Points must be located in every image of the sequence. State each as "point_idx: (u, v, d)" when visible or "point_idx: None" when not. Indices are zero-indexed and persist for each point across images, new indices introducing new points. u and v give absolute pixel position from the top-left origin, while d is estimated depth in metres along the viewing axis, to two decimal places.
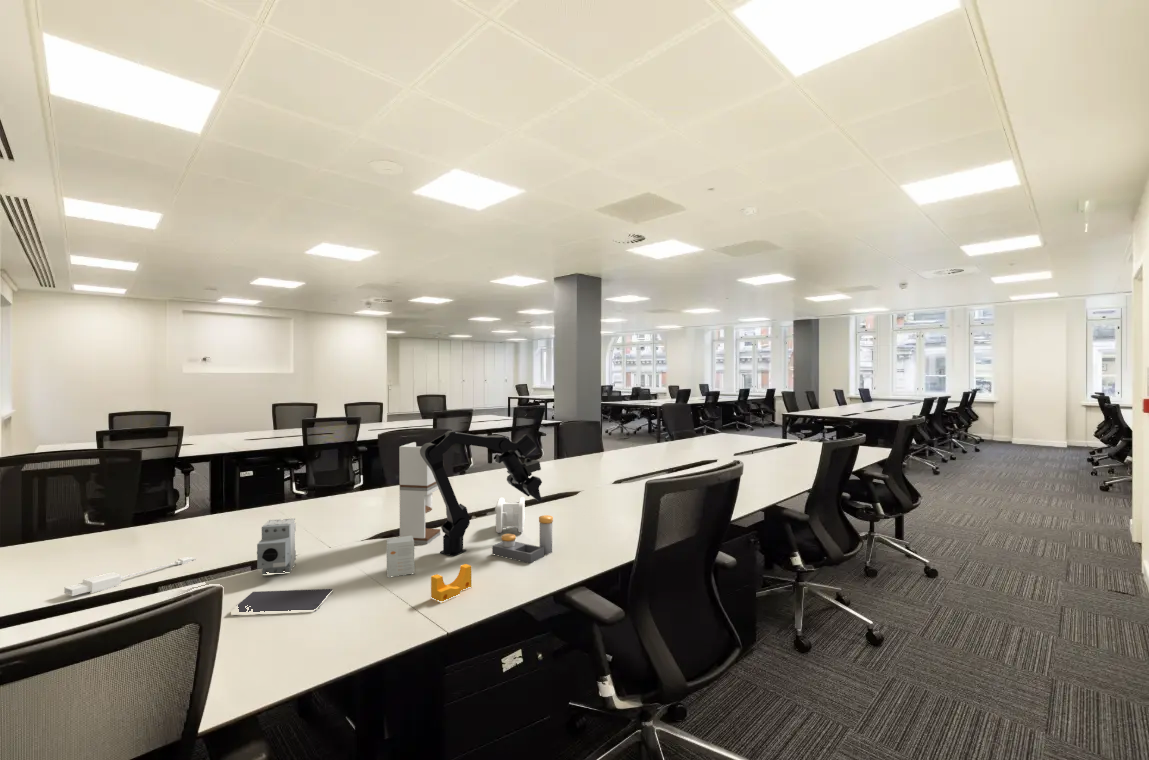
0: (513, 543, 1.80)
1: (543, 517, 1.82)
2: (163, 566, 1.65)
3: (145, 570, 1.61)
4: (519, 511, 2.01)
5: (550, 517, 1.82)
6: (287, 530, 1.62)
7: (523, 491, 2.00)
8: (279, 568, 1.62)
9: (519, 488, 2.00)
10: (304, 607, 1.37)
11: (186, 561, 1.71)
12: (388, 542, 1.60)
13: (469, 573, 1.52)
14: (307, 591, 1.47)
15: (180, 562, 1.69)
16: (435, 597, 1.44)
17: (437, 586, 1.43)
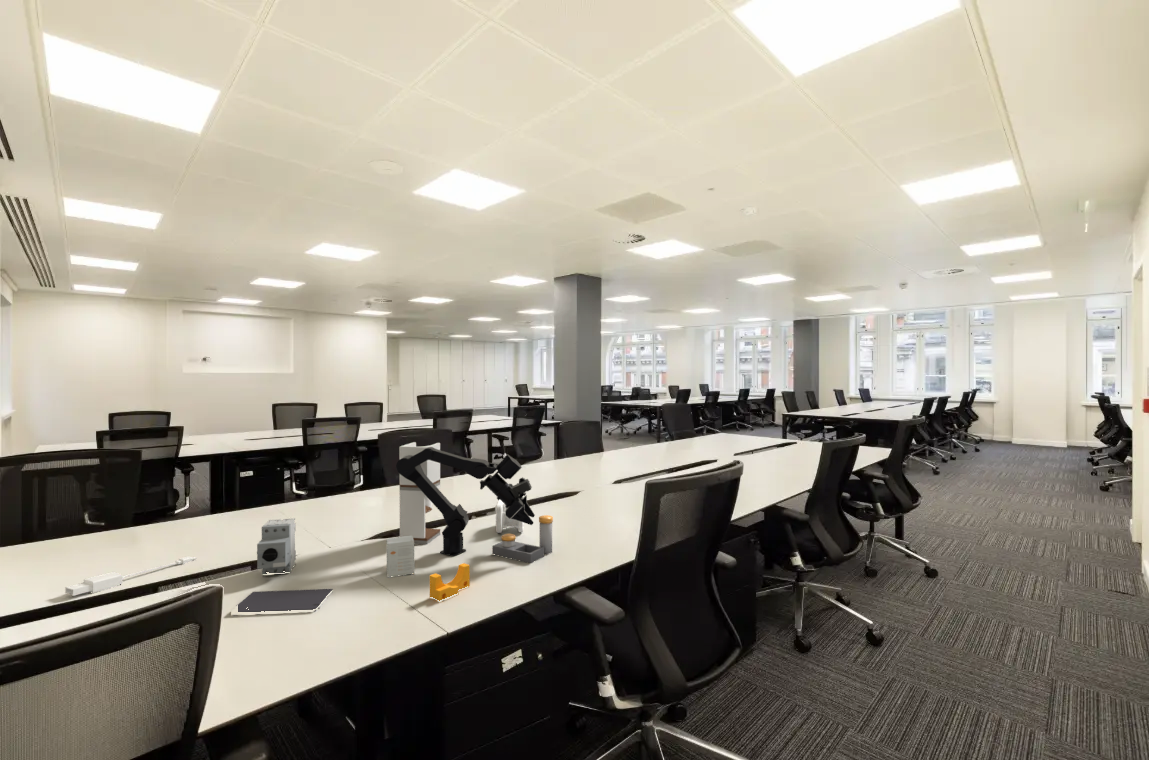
0: (513, 543, 1.80)
1: (543, 517, 1.82)
2: (164, 566, 1.66)
3: (146, 570, 1.62)
4: None
5: (550, 517, 1.82)
6: (287, 530, 1.62)
7: (526, 512, 1.87)
8: (279, 568, 1.62)
9: None
10: (304, 607, 1.37)
11: (187, 561, 1.71)
12: (388, 542, 1.60)
13: (467, 572, 1.53)
14: (307, 591, 1.47)
15: (181, 562, 1.70)
16: (434, 596, 1.44)
17: (435, 585, 1.44)
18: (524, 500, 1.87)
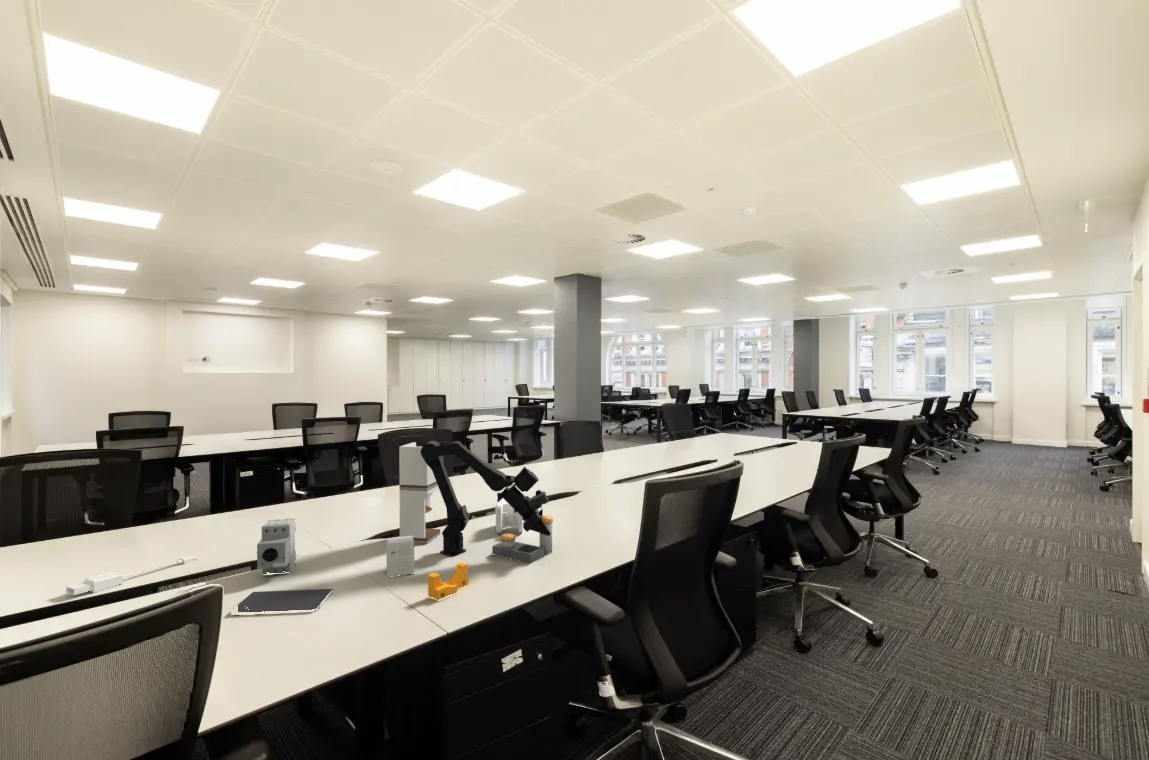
0: (513, 543, 1.80)
1: (543, 517, 1.82)
2: (164, 565, 1.66)
3: (147, 569, 1.62)
4: None
5: (550, 517, 1.82)
6: (287, 530, 1.62)
7: None
8: (279, 568, 1.62)
9: None
10: (304, 607, 1.37)
11: (187, 560, 1.71)
12: (388, 542, 1.60)
13: (466, 571, 1.53)
14: (307, 591, 1.47)
15: (181, 561, 1.70)
16: (432, 595, 1.45)
17: (434, 584, 1.44)
18: (540, 514, 1.85)
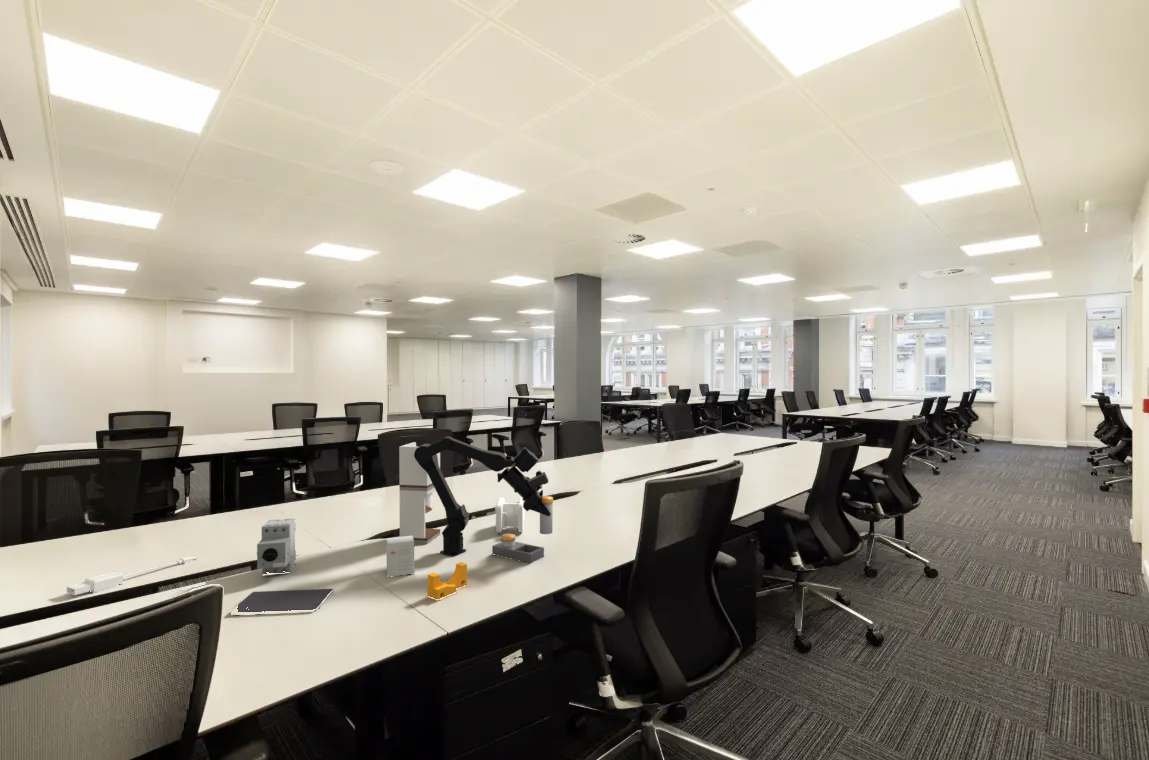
0: (513, 543, 1.80)
1: (543, 498, 1.82)
2: (165, 565, 1.66)
3: (147, 569, 1.62)
4: (519, 511, 2.01)
5: (550, 498, 1.82)
6: (287, 530, 1.62)
7: None
8: (279, 568, 1.62)
9: None
10: (304, 607, 1.37)
11: (188, 561, 1.71)
12: (388, 542, 1.60)
13: (465, 571, 1.53)
14: (307, 591, 1.47)
15: (182, 562, 1.70)
16: (432, 595, 1.45)
17: (434, 584, 1.45)
18: (540, 495, 1.85)
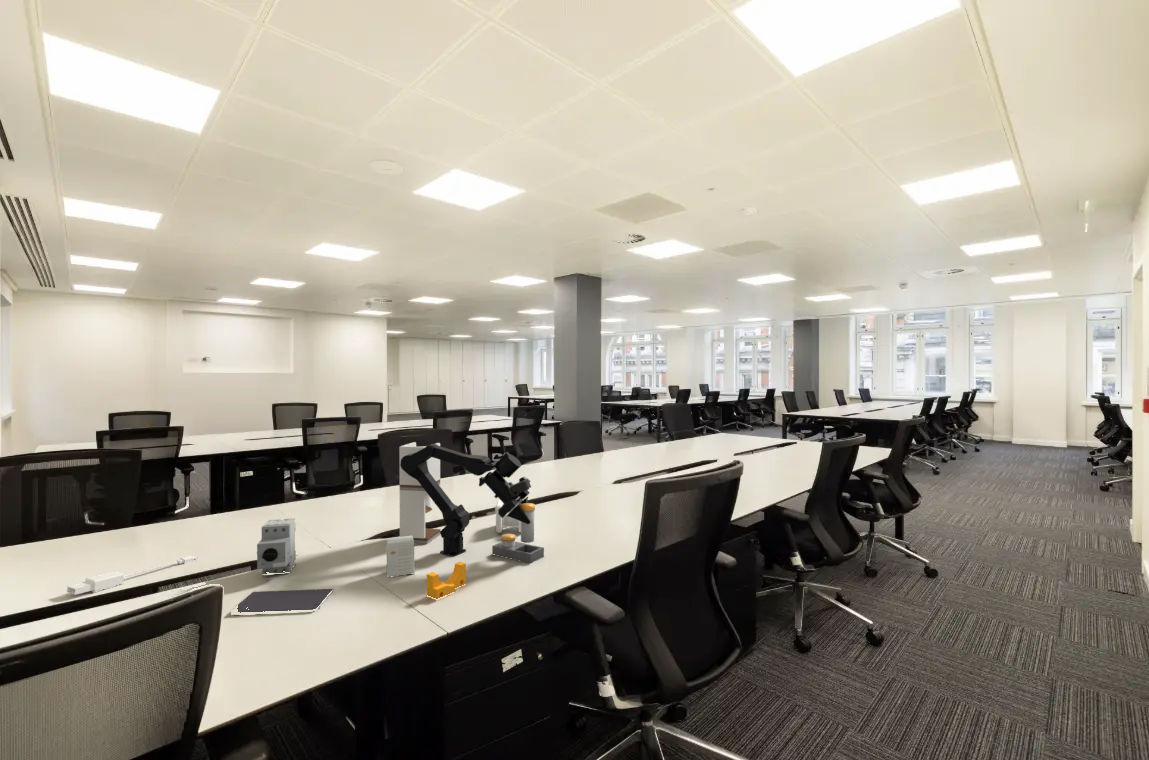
0: (513, 543, 1.80)
1: (525, 505, 1.76)
2: (165, 565, 1.66)
3: (147, 569, 1.62)
4: None
5: (532, 505, 1.76)
6: (287, 530, 1.62)
7: None
8: (279, 568, 1.62)
9: None
10: (304, 607, 1.37)
11: (188, 560, 1.71)
12: (388, 542, 1.60)
13: (464, 571, 1.54)
14: (307, 591, 1.47)
15: (182, 561, 1.70)
16: (431, 595, 1.45)
17: (433, 583, 1.45)
18: (524, 501, 1.80)
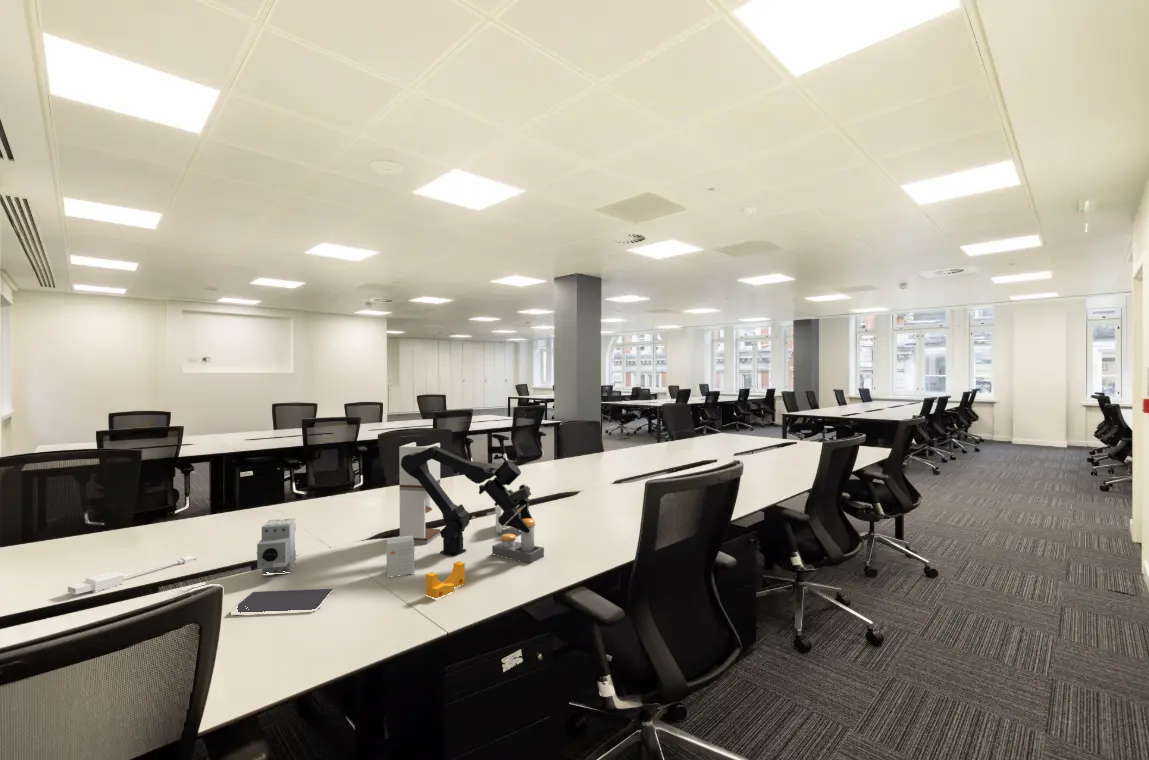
0: (513, 543, 1.80)
1: (525, 520, 1.76)
2: (166, 565, 1.66)
3: (148, 569, 1.62)
4: None
5: (532, 521, 1.76)
6: (287, 530, 1.62)
7: None
8: (279, 568, 1.62)
9: (521, 518, 1.81)
10: (304, 607, 1.37)
11: (188, 560, 1.72)
12: (388, 542, 1.60)
13: (462, 570, 1.54)
14: (307, 591, 1.47)
15: (182, 561, 1.70)
16: (430, 594, 1.45)
17: (432, 583, 1.45)
18: (525, 508, 1.81)
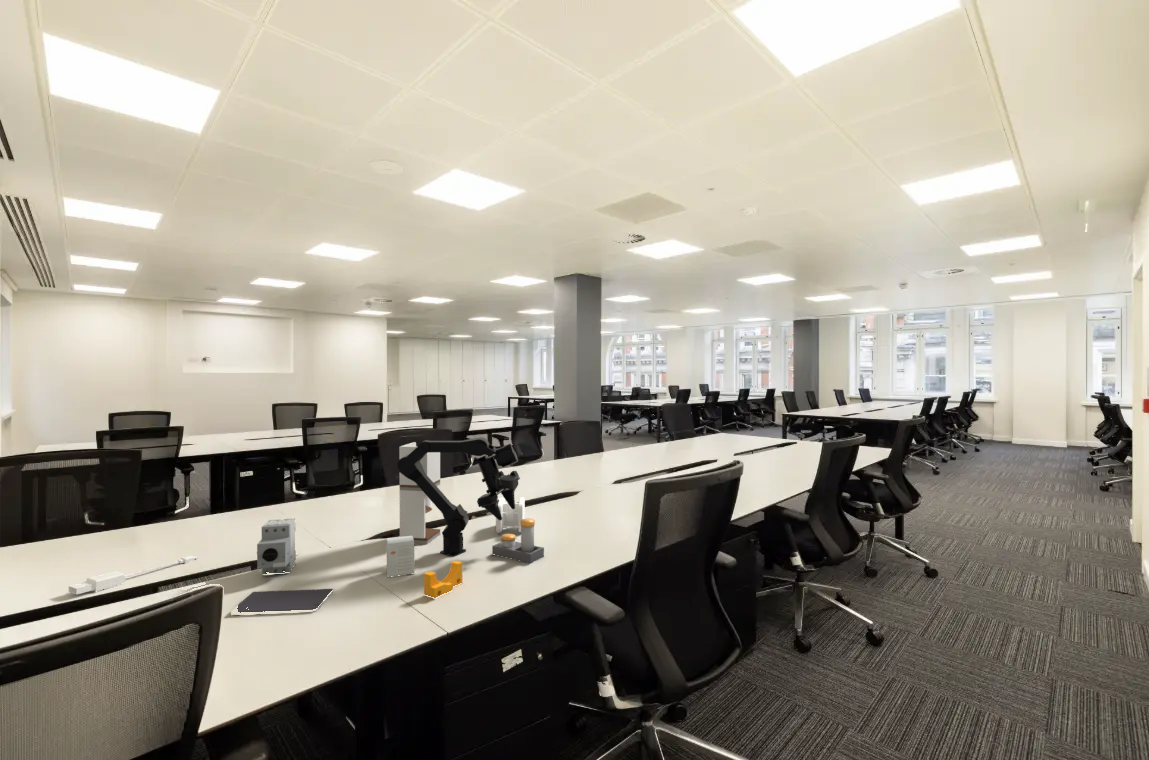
0: (513, 543, 1.80)
1: (524, 520, 1.77)
2: (166, 565, 1.66)
3: (148, 569, 1.62)
4: (519, 511, 2.01)
5: (531, 521, 1.76)
6: (287, 530, 1.62)
7: (508, 501, 1.87)
8: (279, 568, 1.62)
9: (505, 497, 1.87)
10: (304, 607, 1.37)
11: (189, 560, 1.72)
12: (388, 542, 1.60)
13: (460, 569, 1.55)
14: (307, 591, 1.47)
15: (183, 561, 1.70)
16: (429, 594, 1.46)
17: (431, 582, 1.45)
18: (511, 490, 1.86)
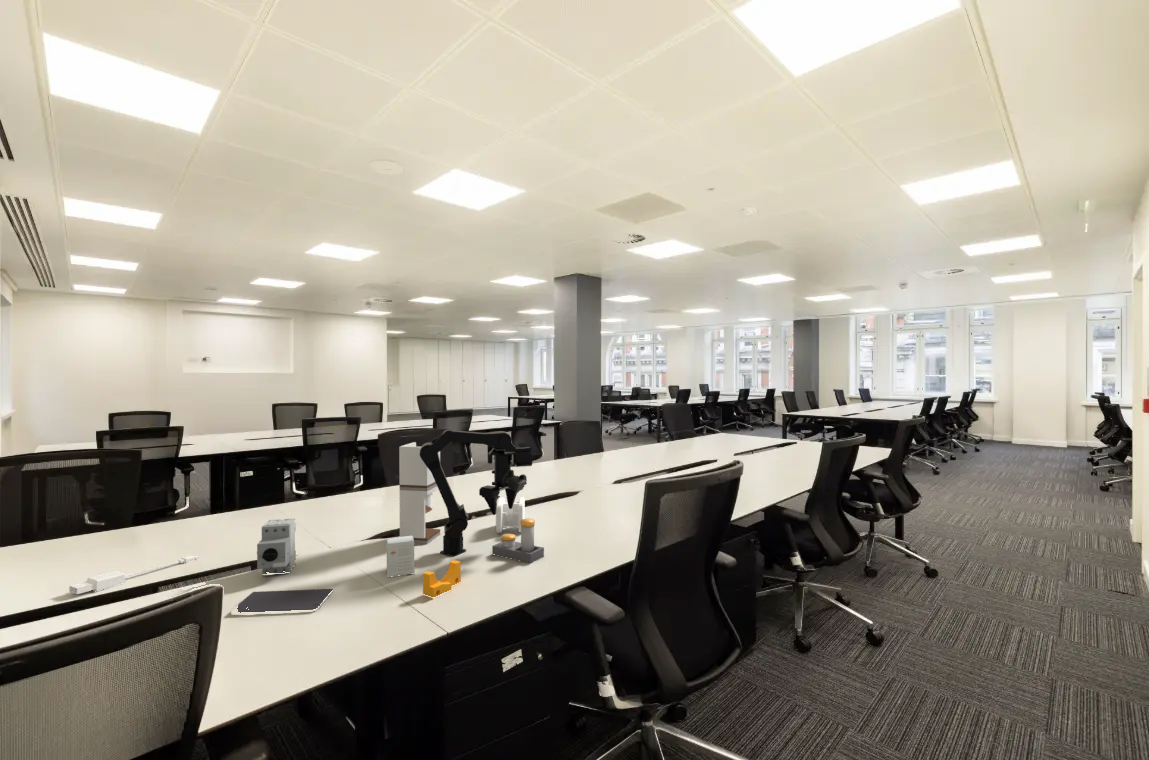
0: (513, 543, 1.80)
1: (524, 520, 1.77)
2: (167, 565, 1.67)
3: (149, 569, 1.63)
4: (519, 511, 2.01)
5: (531, 521, 1.76)
6: (287, 530, 1.62)
7: (508, 500, 1.90)
8: (279, 568, 1.62)
9: (507, 494, 1.91)
10: (304, 607, 1.37)
11: (189, 560, 1.72)
12: (388, 542, 1.60)
13: (459, 569, 1.55)
14: (307, 591, 1.47)
15: (183, 561, 1.71)
16: (427, 593, 1.46)
17: (429, 582, 1.46)
18: (514, 491, 1.89)
